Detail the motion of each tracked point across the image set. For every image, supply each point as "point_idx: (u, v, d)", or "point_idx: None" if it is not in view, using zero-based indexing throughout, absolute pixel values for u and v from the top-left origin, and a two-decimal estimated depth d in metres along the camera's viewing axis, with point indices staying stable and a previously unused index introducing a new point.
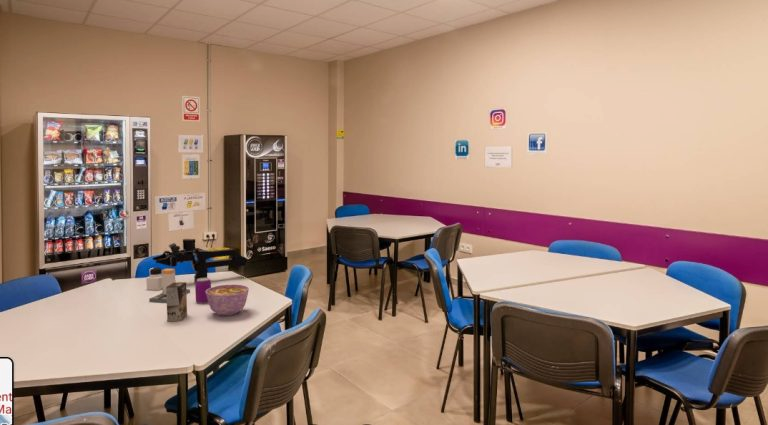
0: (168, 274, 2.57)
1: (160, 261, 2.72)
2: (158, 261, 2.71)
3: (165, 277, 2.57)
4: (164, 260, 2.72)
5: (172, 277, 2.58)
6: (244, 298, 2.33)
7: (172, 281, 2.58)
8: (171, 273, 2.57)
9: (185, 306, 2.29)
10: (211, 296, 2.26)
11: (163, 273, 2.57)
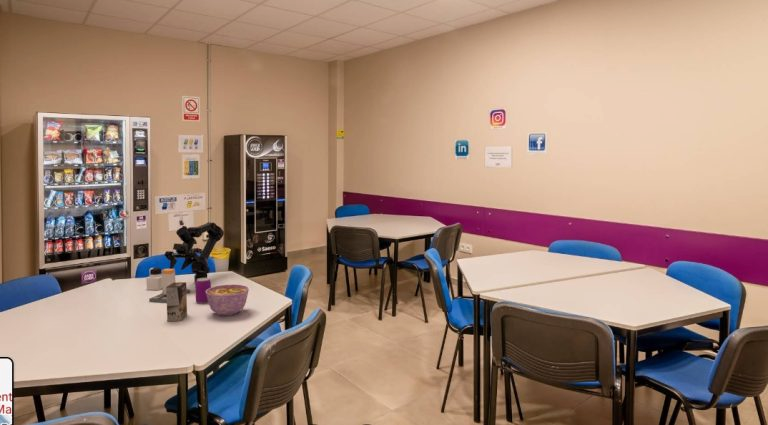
0: (168, 274, 2.57)
1: (184, 266, 2.66)
2: (183, 267, 2.66)
3: (165, 277, 2.57)
4: (186, 262, 2.67)
5: (172, 277, 2.58)
6: (244, 298, 2.33)
7: (172, 281, 2.58)
8: (171, 273, 2.57)
9: (185, 306, 2.29)
10: (211, 296, 2.26)
11: (163, 273, 2.57)
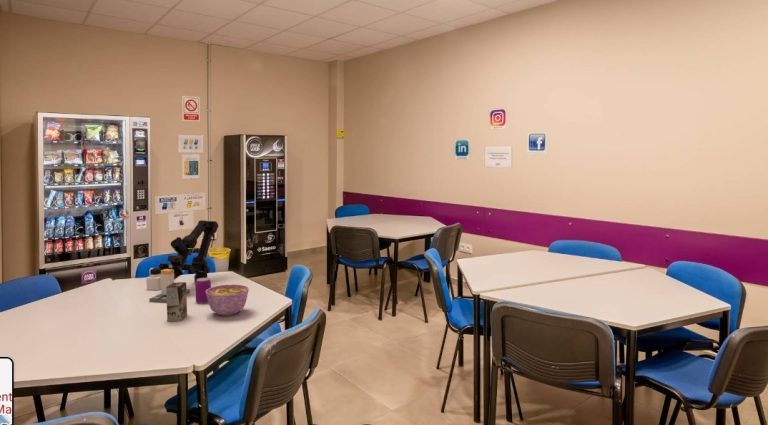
0: (167, 274, 2.56)
1: None
2: None
3: (164, 277, 2.56)
4: (175, 274, 2.63)
5: (171, 277, 2.57)
6: (244, 298, 2.33)
7: (171, 281, 2.57)
8: (170, 273, 2.56)
9: (185, 306, 2.29)
10: (211, 296, 2.26)
11: (162, 273, 2.56)
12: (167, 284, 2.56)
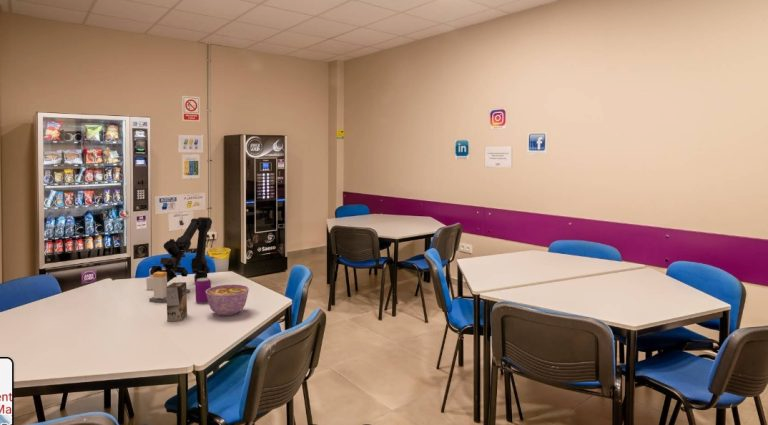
0: (160, 277, 2.50)
1: None
2: None
3: (156, 280, 2.50)
4: (168, 277, 2.57)
5: (164, 280, 2.51)
6: (244, 298, 2.33)
7: (164, 284, 2.51)
8: (163, 276, 2.50)
9: (185, 306, 2.29)
10: (211, 296, 2.26)
11: (154, 276, 2.50)
12: (160, 287, 2.50)
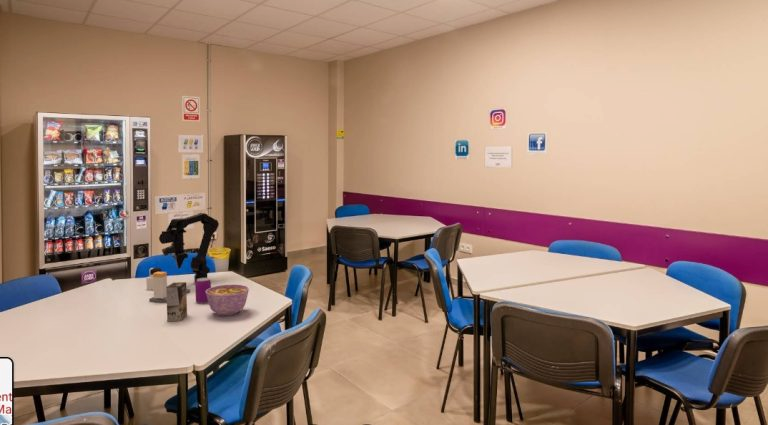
0: (160, 277, 2.50)
1: (178, 264, 2.74)
2: (179, 266, 2.74)
3: (156, 280, 2.50)
4: (178, 261, 2.73)
5: (164, 280, 2.51)
6: (244, 298, 2.33)
7: (164, 284, 2.51)
8: (163, 276, 2.50)
9: (185, 306, 2.29)
10: (211, 296, 2.26)
11: (154, 276, 2.50)
12: (160, 287, 2.50)
